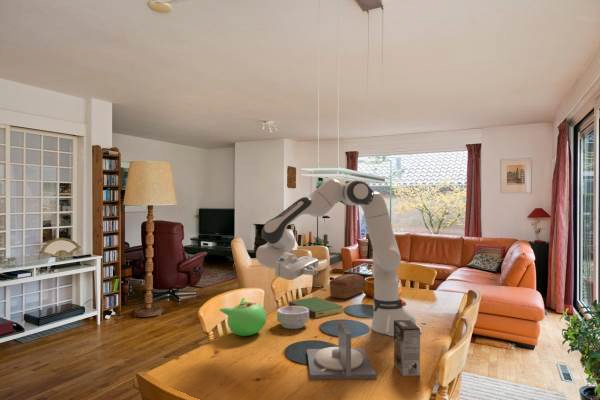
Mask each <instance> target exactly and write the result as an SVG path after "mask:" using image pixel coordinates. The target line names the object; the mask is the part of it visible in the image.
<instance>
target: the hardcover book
mask: <svg viewBox="0 0 600 400" xmlns="http://www.w3.org/2000/svg"><path fill="white" fill-rule="evenodd" d="M288 306H302V307H306V308H308V309H309V318H310V317H311V318H312V319H317V318H322V317H327V316H331V315H335V314H340V313H343V307H344V306H343V305H341V304H338V303H334V302H332V301H329V300H327V299H323V298H319V297H317V296H312V297H306V298H302V299H297V300H290V301H288Z"/></svg>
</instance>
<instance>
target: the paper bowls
mask: <svg viewBox="0 0 600 400" xmlns="http://www.w3.org/2000/svg"><path fill="white" fill-rule="evenodd" d="M276 320H277V322H278V323H280V324H281V326H282V327H283V328H284V329H288V330H297V329H299V330H300V329H301V328H303V327H304V326H305V324H306V323H307V322H309V321H310V316H309V309H308V308H306V307H302V306H289V305H288V306H283V307H279V308H277V311H276Z"/></svg>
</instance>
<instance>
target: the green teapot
mask: <svg viewBox="0 0 600 400" xmlns="http://www.w3.org/2000/svg"><path fill="white" fill-rule="evenodd" d="M219 311H220V312H221V313H223V314H225V315H226V316H227V326H228V328H229V330H230V331H231V332H232V333H233V334H235V335H236V336H241V337H248V336H253V335H256V334H257V333H259V332H260V331H261V330H262V329H263V328H264V327H265V325H266V322H267V313H266V311H265V309H264V307H263V306H262V305H260V304H259V303H256V302H252V301H247V300H246V297H243V298H241V300H240V303H238V304H236V305H235V306H234V307H232V308H230V307H228V308H227V307H221V308H219Z"/></svg>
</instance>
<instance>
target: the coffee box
mask: <svg viewBox="0 0 600 400" xmlns="http://www.w3.org/2000/svg"><path fill="white" fill-rule="evenodd" d="M417 325H418V324H417ZM417 325H415V324H414V323H413V322H412V321H411V320H394V336H393V365H394V366H395V368H396V369H397V371H399V373H400V374H401V376H403V377H409V376H420V375H421V371H420V370H421V333H420V328H421V327H420V326H419V325H418V326H419V327H420V328H419V327H418V326H417Z"/></svg>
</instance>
